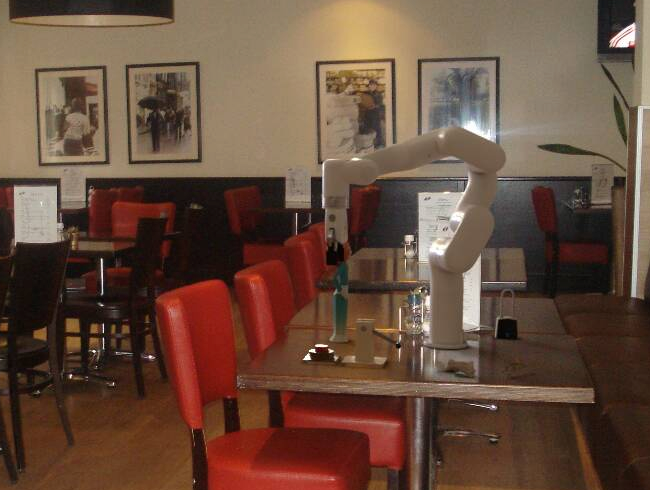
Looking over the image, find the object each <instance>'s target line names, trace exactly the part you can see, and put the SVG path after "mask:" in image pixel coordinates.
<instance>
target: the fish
mask: <svg viewBox="0 0 650 490" xmlns="http://www.w3.org/2000/svg"><path fill="white" fill-rule="evenodd" d="M532 362H533V359H532V358H531V359H530V360H529V361H528V362H527V363H526V364H523V363H521V359H520V356H518V357H516V360H515V361H514V362H512V363H509V364H507V365H505V367H503V368H502V370H501V373H502V374H504V375H508V377H510V376H512V377H513V378H517V377H518V375H520V376H523V375H524V372H525V370H527V371H528V372H529V373H530V374H532V373H533V371H532V367H531V366H532Z"/></svg>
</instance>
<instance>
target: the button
mask: <svg viewBox="0 0 650 490" xmlns="http://www.w3.org/2000/svg"><path fill="white" fill-rule="evenodd" d="M314 349H315V352H329V349H330V347H329V345H328V344H316V345H314Z"/></svg>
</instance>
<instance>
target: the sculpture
mask: <svg viewBox="0 0 650 490" xmlns="http://www.w3.org/2000/svg"><path fill="white" fill-rule="evenodd" d="M352 253H353V251H352V250H351V247H350V243H349V242H348V241H346V242H345V243H344V262H338V265H331V266H332V267H333V268H337V270H336V272H335V273H334V274H333V276H332V279H333V283H334V287H335V291H334V292H333V294H332V309H333V310H332V317H333V318H332V319H333V326H332V327H333V333H332V335H331V337H330V338H329V339H328V340H329V341H330V342H332V343H348V342H349V341H350V340H349V338H348V335H347V327H348V310H349V309H348V307H349V265H348V264H347V263H345V261H346V260H347V259H352Z"/></svg>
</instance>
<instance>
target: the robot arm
mask: <svg viewBox="0 0 650 490" xmlns="http://www.w3.org/2000/svg"><path fill="white" fill-rule="evenodd" d="M449 157H452V158H453V157H454V158H455V159H457V160H459V161H461V162H463V165H464V166H465V169H466V171H467V176H468V179H467V185H466V187H465V190H464V192H463V193H462V196H461V197H460V198H459V200H458V202H457V204H456V206H455V207H454V210H453V211H452V213H451V215H450V217H449V222H448V225H449V228H450V230H451V231H452V233H454V234H453V236H452V237H451V236H442V237H439V238H437V239H435V240H434V241H433V242H432V243H431V244H430V246H429V250H428V252H427V253H428V254H427V257H428V258H427V261H428V268H429V314H428V315H429V317H428V318H429V320H428V321H429V323H428V338H426V339H423V345H424V346H425V347H428V348H433V349H441V350H457V349H458V350H460V349H464V348H467V347H468V346H469V342H468V341H470V342H479V334H475V333H467V332H465V329H464V325H463V324H464V293H465V292H464V291H465V290H464V289H465V285H464V282H465V281H464V273H467V272H468V271H470V270H471V269H473V267H474V266H475V265H476V263H477V261H478V260H479V258H480V256H481V255H482V253H483V250H484V249H485V247H486V245H487V243H488V241H489V240H490V238H491V236H492V234H493V231H494V227H495V219H494V215H493V213H492V212H491V210H490V208H491V206H492V204H493V202H494V200H495V198H496V196H497V192H498V188H499V181H498V172H499V171H501V170H502V169H503V168H504V166H505V164H506V162H507V161H506V160H507V154H506V151H505V150H504V148H503V147H502V146H501V145H500V144H498V143H496V142H494V141H492V140H490V139H488V138H486V137H483V136H482V135H479V134H477V133H475V132H473V131H470V130H468V129H466V128H464V127H462V126H455V125H453V126H443V127H439V128H436V129H433V130H430V131H427V132H425V133H422V134H420V135H416V136H413V137H410V138H408V139H405V140H402V141H399V142H396V143H393V144H391V145H389V146H386V147H382V148H379V149H376V150H373V151H370V152H367V153H364V154H362V155H359V156H356V157H353V158H351V159H349V160H347V159H343V158H342V159H341V158H339V159H335V158H334V159H332V158H331V159H326V160H324V161H323V162H322V191H321V192H322V195H321V196H322V197H321V200H322V201H321V203H322V205H321V206H322V207H321V208H322V209H324V210H325V218H324V219H325V220H324V240H325V243H326V248H325V249H326V251H325V265H326V266H332V265H338V262H344V263H345V261H344V243H345V242H348V240H349V234H348V211H347V209H350V185H358V186H369V185H371V184H373V183H375V182H376V181H377V179H378V177H381V176H384V175H388V174H392V173H400V172H401V173H402V172H407V171H411V170H415V169H418V168H420V167H421V168H422V167H423V166H426V165H429V164H431V163H434V162H438V161H440V160H442V159H445V158H449Z"/></svg>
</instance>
